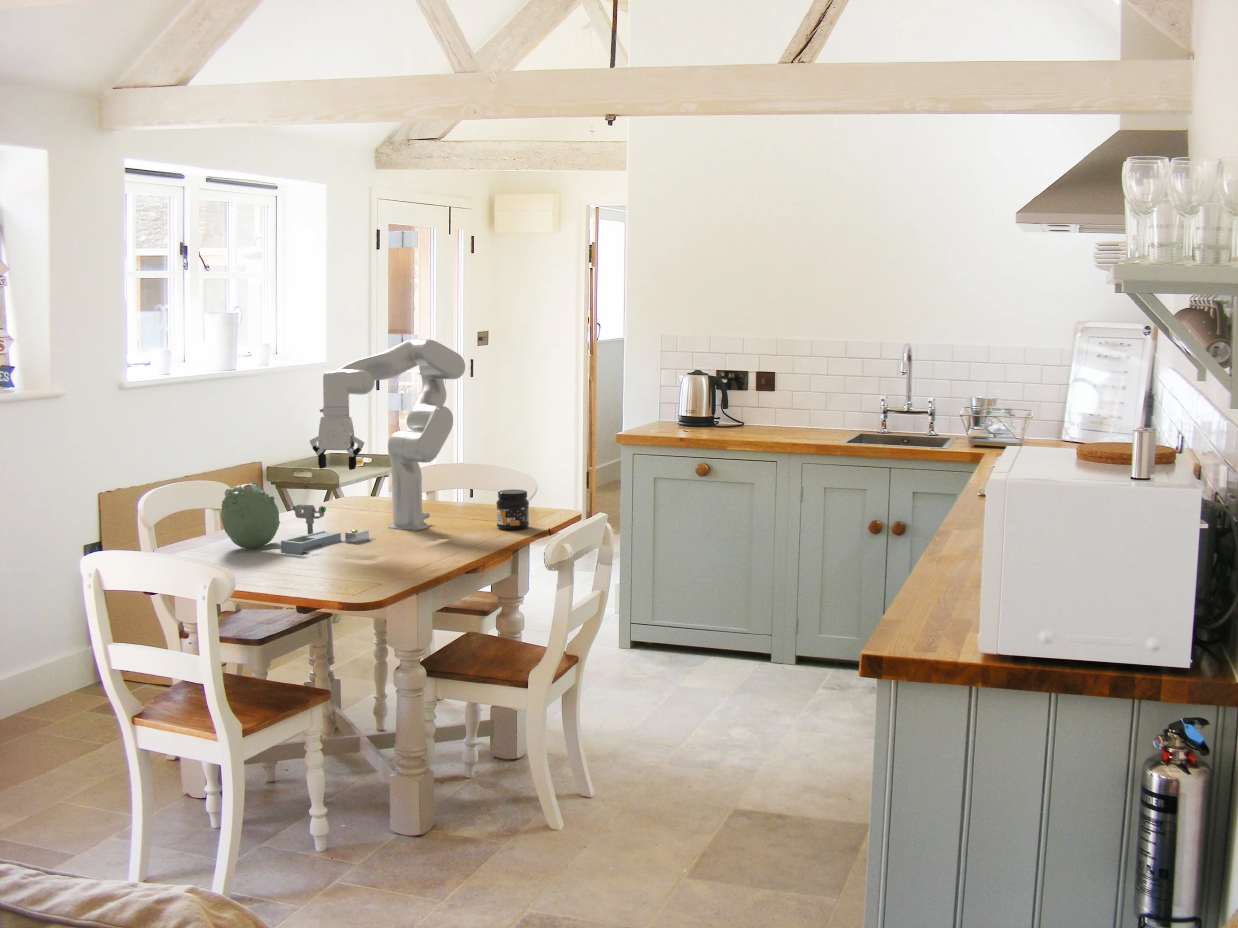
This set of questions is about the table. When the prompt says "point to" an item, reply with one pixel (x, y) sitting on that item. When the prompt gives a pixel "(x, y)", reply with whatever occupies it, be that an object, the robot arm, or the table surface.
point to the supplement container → (512, 510)
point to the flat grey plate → (357, 542)
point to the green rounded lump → (249, 516)
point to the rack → (308, 542)
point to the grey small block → (357, 535)
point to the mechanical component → (308, 514)
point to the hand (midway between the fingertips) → (337, 468)
